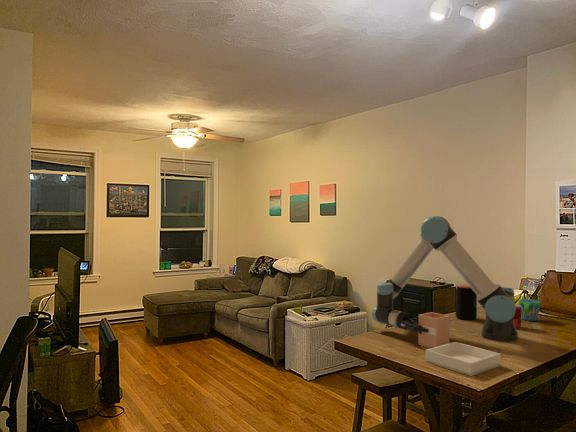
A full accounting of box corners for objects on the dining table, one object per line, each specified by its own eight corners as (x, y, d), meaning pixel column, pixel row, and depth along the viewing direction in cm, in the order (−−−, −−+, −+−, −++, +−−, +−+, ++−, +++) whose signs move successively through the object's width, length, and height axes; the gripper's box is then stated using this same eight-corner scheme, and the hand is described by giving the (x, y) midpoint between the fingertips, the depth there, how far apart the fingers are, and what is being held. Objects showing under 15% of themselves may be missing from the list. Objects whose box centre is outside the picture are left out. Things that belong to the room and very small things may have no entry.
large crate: (455, 352, 181) (455, 341, 181) (500, 365, 166) (500, 353, 166) (425, 361, 170) (425, 349, 170) (470, 376, 155) (470, 363, 155)
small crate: (431, 341, 197) (431, 312, 197) (449, 346, 190) (449, 316, 190) (418, 345, 192) (418, 314, 192) (436, 350, 185) (436, 318, 184)
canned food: (500, 325, 227) (500, 303, 227) (515, 324, 227) (515, 303, 227) (508, 328, 219) (509, 306, 219) (524, 328, 220) (524, 306, 220)
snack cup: (523, 315, 247) (524, 297, 247) (545, 319, 240) (545, 300, 240) (513, 320, 236) (513, 301, 236) (535, 324, 229) (535, 304, 229)
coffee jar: (478, 321, 235) (478, 287, 234) (457, 320, 237) (457, 286, 237) (474, 316, 245) (474, 283, 245) (454, 315, 247) (454, 283, 247)
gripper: (416, 324, 212) (458, 335, 193) (384, 331, 199) (426, 343, 181) (416, 308, 212) (458, 318, 193) (384, 314, 199) (426, 325, 181)
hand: (443, 330), depth 187 cm, fingers closed on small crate, 9 cm apart
